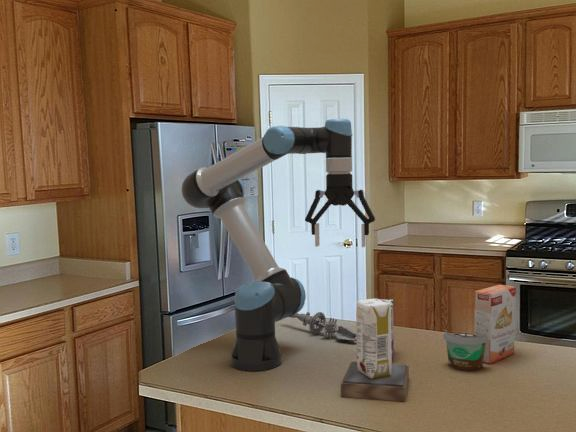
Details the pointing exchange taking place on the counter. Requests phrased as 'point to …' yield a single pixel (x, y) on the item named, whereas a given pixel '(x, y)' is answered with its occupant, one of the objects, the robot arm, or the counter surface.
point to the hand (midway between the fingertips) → (340, 246)
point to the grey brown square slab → (376, 384)
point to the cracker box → (496, 320)
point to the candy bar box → (391, 322)
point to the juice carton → (374, 338)
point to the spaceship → (325, 326)
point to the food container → (465, 351)
